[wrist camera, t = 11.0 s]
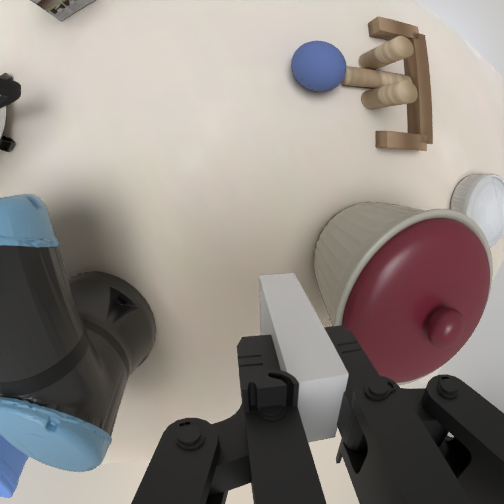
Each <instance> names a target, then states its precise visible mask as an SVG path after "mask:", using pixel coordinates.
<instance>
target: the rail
mask: <svg viewBox="0 0 504 504" xmlns="http://www.w3.org/2000/svg"><path fill="white" fill-rule="evenodd" d="M368 28H369V36H370V37H375V38H380V39H385V40H391V39H393V38H395V37H398V36H404V37H406V38H408V39H409V40H410V42H411V43H412V45H413V48H414V51H413V54H412V55H411V56H409V57H407V58H404V67H405V75H407V76H409V77H410V78H411V80H412V83H413V84H414V85H415V87H416V89H417V92H418V96H417V99H416V101H415V102H413V103H408V104H407V115H408V133H403V132H393V131H376V147H386V148H399V149H411V150H421V151H427V144H433V131H432V101H431V85H430V74H429V64H428V55H427V47H426V40H425V35H423V34H419V31H418V27H417V26H413V25H410V24H406V23H402V22H399V21H395V20H391V19H387V18H383V17H376V18H375V19H374V20H372V21H371V22H369V23H368Z"/></svg>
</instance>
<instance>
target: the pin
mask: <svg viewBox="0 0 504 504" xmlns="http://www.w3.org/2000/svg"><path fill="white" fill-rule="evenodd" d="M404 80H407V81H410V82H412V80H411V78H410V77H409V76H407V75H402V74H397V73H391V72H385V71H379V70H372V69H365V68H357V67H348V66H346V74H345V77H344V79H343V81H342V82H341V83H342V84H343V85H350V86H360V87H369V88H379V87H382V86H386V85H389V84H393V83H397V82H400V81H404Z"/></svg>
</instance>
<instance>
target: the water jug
mask: <svg viewBox="0 0 504 504" xmlns="http://www.w3.org/2000/svg"><path fill="white" fill-rule="evenodd" d="M28 457H29V456H28V455H26V454H24V453H23V452H21V451H20V450H18V449H17V448H16V447H14V446H13V445H12V444H10V443H9V442H8V441H7V440H6V439H5V438H4V437H3V436H2V435H1V434H0V497H5V498H10V497H12V495H13V493H14V491H15V489H16V487H17V485H18V480H19V477H20V475H21V472H22V470H23V467H24V465H25V462H26V461H27V459H28Z"/></svg>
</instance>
